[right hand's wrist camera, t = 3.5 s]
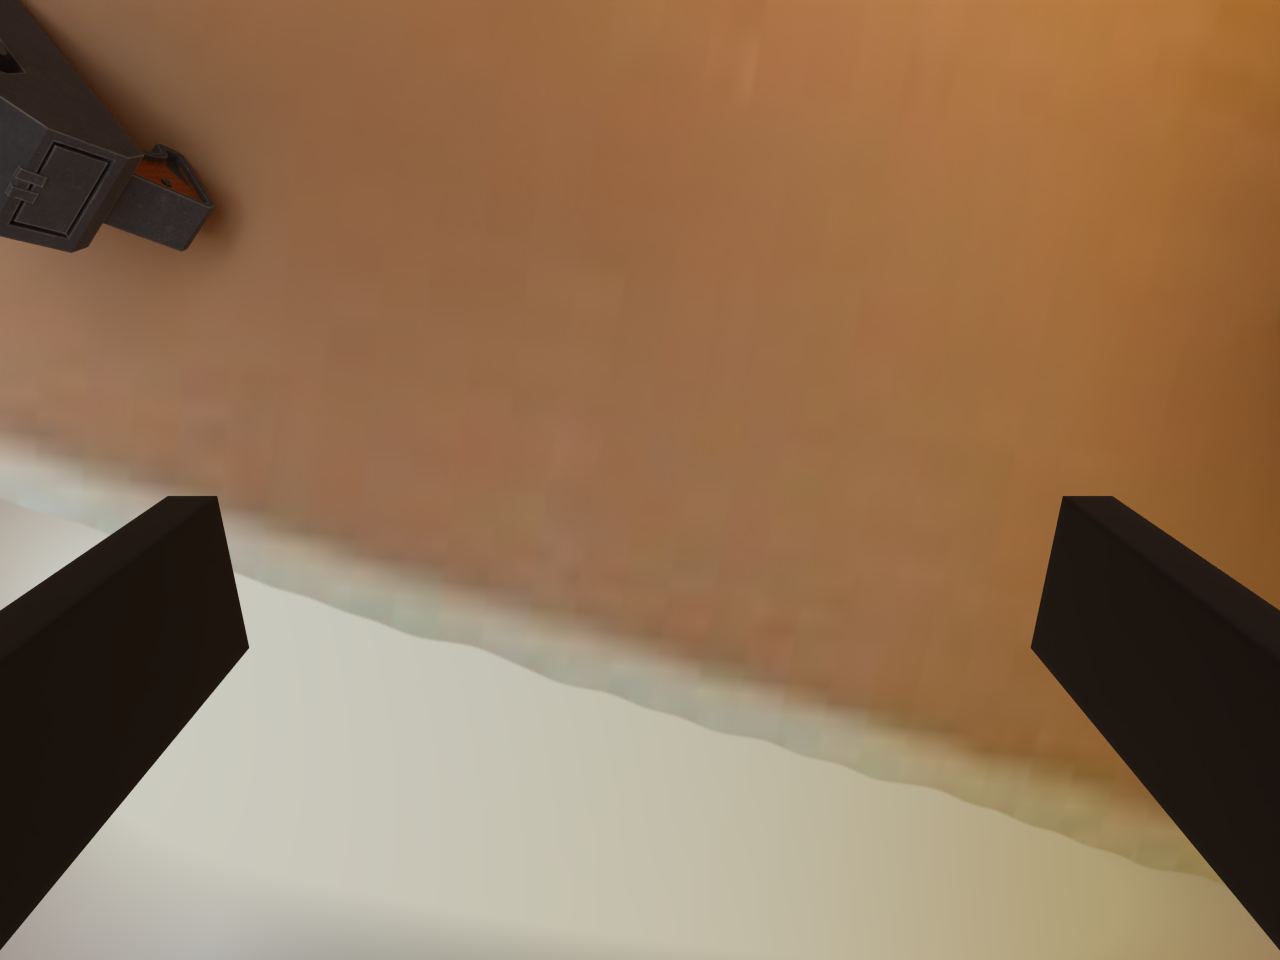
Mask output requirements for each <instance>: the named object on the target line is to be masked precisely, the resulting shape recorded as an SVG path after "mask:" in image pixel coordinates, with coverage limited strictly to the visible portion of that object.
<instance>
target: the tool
mask: <svg viewBox="0 0 1280 960" xmlns="http://www.w3.org/2000/svg"><path fill="white" fill-rule="evenodd" d="M214 207H215V205H214V204H213V202H212V201H211V199H210V197H209V196H208V194H207V193H206V191H205V189H204V188H203V186H202V185H201V183H200V182H199V180H198V178H197V177H196V175H195V174H194V172H193V171H192V169H191V167H190V166H189V164H188V163H187V161H186V160H185V158H184V156H183V155H181V154H180V153H179V152H176V151H174V150H172V149H170V148H168V147H165V146H163V145H161V144H159V143H157V144H156V145H155V147H154V148H153V150H152V152H147V151H143V150H140V149H139V148H138V147H137V146H136V144H135V143H134V142H133V141H132V139H131V138H130V137H129V136H128V135H127V133H126V132H125V131H124V130H123V128H122V127H121V126H120V125H119V124H118V122H117V121H116V120H115V119H114V117H113V116H112V115H111V114H110V113H109V111H108V110H107V109H106V108H105V106H104V105H103V104H102V103H101V102H100V100H99V99H98V98H97V97H96V95H95V94H94V93H93V92H92V90H91V89H90V88H89V87H88V86H87V84H86V83H85V82H84V81H83V79H82V78H81V77H80V76H79V75H78V73H77V72H76V71H75V70H74V68H73V67H72V66H71V65H70V64H69V62H68V61H67V60H66V59H65V57H64V56H63V55H62V54H61V53H60V51H59V50H58V49H57V48H56V46H55V45H54V44H53V43H52V42H51V40H50V39H49V38H48V37H47V35H46V34H45V33H44V32H43V31H42V29H41V28H40V27H39V26H38V24H37V23H36V22H35V21H34V19H33V18H32V17H31V16H30V15H29V13H28V12H27V11H26V10H25V8H24V7H23V6H22V5H21V4H20V2H19V1H18V0H0V236H1V237H6V238H10V239H14V240H19V241H23V242H27V243H31V244H36V245H40V246H44V247H49V248H53V249H57V250H61V251H66V252H70V253H72V252H75V251H78V250H81V249H83V248H86V247H88V246H89V244H90V243H91V241H92V240H93V238H94V236H95V235H96V233H97V231H98V230H99V228H100V227H101V225H102V223H104V224H107V225H110V226H113V227H115V228H118V229H121V230H124V231H126V232H129V233H132V234H135V235H137V236H140V237H143V238H146V239H148V240H151V241H154V242H157V243H159V244H162V245H165V246H168V247H170V248H173V249H176V250H179V251H184V250H186V249H187V248H188V247H189V245H190V244H191V242H192V241H193V239H194V238H195V236H196V235H197V233H198V232H199V230H200V229H201V227H202V226H203V224H204V223H205V221H206V220H207V218H208V217H209V215H210V214H211V212H212V210H213V209H214Z"/></svg>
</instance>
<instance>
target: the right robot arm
mask: <svg viewBox="0 0 1280 960" xmlns="http://www.w3.org/2000/svg"><path fill="white" fill-rule="evenodd" d="M248 649H249V644H248V640H247V635H246V630H245V626H244V621H243V616H242V611H241V607H240V602H239V597H238V593H237V588H236V583H235V578H234V574H233V569H232V564H231V559H230V555H229V550H228V545H227V540H226V536H225V531H224V526H223V522H222V517H221V512H220V507H219V503H218V498H217V496H167V497H166V498H164V499H163V500H161V501H160V502H158V503H157V504H156V505H154V506H153V507H151V508H150V509H148V510H147V511H145V512H144V513H142V514H141V515H139V516H138V517H136V518H135V519H134V520H132V521H131V522H129V523H128V524H126V525H125V526H123V527H122V528H120V529H119V530H117V531H116V532H115V533H113V534H112V535H110V536H109V537H107V538H106V539H104V540H103V541H101V542H100V543H98V544H97V545H96V546H94V547H93V548H91V549H90V550H88V551H87V552H85V553H84V554H82V555H81V556H79V557H78V558H77V559H75V560H74V561H72V562H71V563H69V564H68V565H66V566H65V567H63V568H62V569H60V570H59V571H58V572H56V573H55V574H53V575H52V576H50V577H49V578H47V579H46V580H44V581H43V582H41V583H40V584H38V585H37V586H36V587H34V588H33V589H31V590H30V591H28V592H27V593H25V594H24V595H22V596H21V597H20V598H18V599H17V600H15V601H14V602H12V603H11V604H9V605H8V606H6V607H5V608H3V609H2V610H0V950H1V949H2V947H3V946H4V945H5V944H6V943H7V941H8V940H9V939H10V938H11V937H12V935H13V934H14V933H15V932H16V930H17V929H18V928H19V927H20V926H21V924H22V923H23V922H24V921H25V920H26V918H27V917H28V916H29V915H30V913H31V912H32V911H33V910H34V909H35V907H36V906H37V905H38V904H39V903H40V901H41V900H42V899H43V898H44V896H45V895H46V894H47V893H48V892H49V890H50V889H51V888H52V887H53V885H54V884H55V883H56V882H57V881H58V879H59V878H60V877H61V876H62V875H63V873H64V872H65V871H66V870H67V869H68V867H69V866H70V865H71V864H72V862H73V861H74V860H75V859H76V858H77V856H78V855H79V854H80V853H81V852H82V850H83V849H84V848H85V847H86V845H87V844H88V843H89V842H90V841H91V839H92V838H93V837H94V836H95V835H96V833H97V832H98V831H99V830H100V828H101V827H102V826H103V825H104V823H105V822H106V821H107V820H108V819H109V817H110V816H111V815H112V814H113V813H114V811H115V810H116V809H117V808H118V807H119V805H120V804H121V803H122V802H123V801H124V799H125V798H126V797H127V796H128V794H129V793H130V792H131V791H132V790H133V788H134V787H135V786H136V785H137V783H138V782H139V781H140V780H141V779H142V777H143V776H144V775H145V774H146V773H147V771H148V770H149V769H150V768H151V767H152V765H153V764H154V763H155V762H156V760H157V759H158V758H159V757H160V756H161V754H162V753H163V752H164V751H165V749H166V748H167V747H168V746H169V745H170V743H171V742H172V741H173V740H174V739H175V737H176V736H177V735H178V734H179V733H180V731H181V730H182V729H183V728H184V726H185V725H186V724H187V723H188V722H189V720H190V719H191V718H192V717H193V715H194V714H195V713H196V712H197V711H198V709H199V708H200V707H201V706H202V705H203V703H204V702H205V701H206V700H207V699H208V697H209V696H210V695H211V694H212V692H213V691H214V690H215V689H216V688H217V686H218V685H219V684H220V683H221V681H222V680H223V679H224V678H225V677H226V675H227V674H228V673H229V672H230V671H231V669H232V668H233V667H234V666H235V665H236V663H237V662H238V661H239V660H240V658H241V657H242V656H243V655H244V653H245V652H246V651H247V650H248ZM1031 649H1032V650H1033V651H1034V652H1035V654H1036V655H1037V656H1038V657H1039V658H1040V660H1041V661H1042V662H1043V663H1044V665H1045V666H1046V667H1047V668H1048V669H1049V671H1050V672H1051V673H1052V674H1053V675H1054V677H1055V678H1056V679H1057V680H1058V682H1059V683H1060V684H1061V685H1062V686H1063V688H1064V689H1065V690H1066V691H1067V692H1068V694H1069V695H1070V696H1071V697H1072V699H1073V700H1074V701H1075V702H1076V703H1077V705H1078V706H1079V707H1080V708H1081V709H1082V711H1083V712H1084V713H1085V714H1086V716H1087V717H1088V718H1089V719H1090V720H1091V722H1092V723H1093V724H1094V725H1095V726H1096V728H1097V729H1098V730H1099V731H1100V733H1101V734H1102V735H1103V736H1104V737H1105V739H1106V740H1107V741H1108V742H1109V743H1110V745H1111V746H1112V747H1113V748H1114V750H1115V751H1116V752H1117V753H1118V754H1119V756H1120V757H1121V758H1122V759H1123V760H1124V762H1125V763H1126V764H1127V765H1128V767H1129V768H1130V769H1131V770H1132V771H1133V773H1134V774H1135V775H1136V776H1137V777H1138V779H1139V780H1140V781H1141V782H1142V784H1143V785H1144V786H1145V787H1146V788H1147V790H1148V791H1149V792H1150V793H1151V794H1152V796H1153V797H1154V798H1155V799H1156V801H1157V802H1158V803H1159V804H1160V805H1161V807H1162V808H1163V809H1164V810H1165V811H1166V813H1167V814H1168V815H1169V816H1170V818H1171V819H1172V820H1173V821H1174V822H1175V824H1176V825H1177V826H1178V827H1179V828H1180V830H1181V831H1182V832H1183V833H1184V835H1185V836H1186V837H1187V838H1188V839H1189V841H1190V842H1191V843H1192V844H1193V845H1194V847H1195V848H1196V849H1197V850H1198V852H1199V853H1200V854H1201V855H1202V856H1203V858H1204V859H1205V860H1206V861H1207V862H1208V864H1209V865H1210V866H1211V867H1212V869H1213V870H1214V871H1215V872H1216V873H1217V875H1218V876H1219V877H1220V878H1221V879H1222V881H1223V882H1224V883H1225V884H1226V886H1227V887H1228V888H1229V889H1230V890H1231V892H1232V893H1233V894H1234V895H1235V896H1236V898H1237V899H1238V900H1239V901H1240V902H1241V904H1242V905H1243V906H1244V907H1245V909H1246V910H1247V911H1248V912H1249V913H1250V915H1251V916H1252V917H1253V918H1254V920H1255V921H1256V922H1257V923H1258V924H1259V926H1260V927H1261V928H1262V929H1263V930H1264V932H1265V933H1266V934H1267V935H1268V937H1269V938H1270V939H1271V940H1272V941H1273V943H1274V944H1275V945H1276V946H1277V947H1278V949H1279V950H1280V610H1278V609H1277V608H1275V607H1274V606H1272V605H1271V604H1269V603H1268V602H1266V601H1265V600H1263V599H1262V598H1261V597H1259V596H1258V595H1256V594H1255V593H1253V592H1252V591H1250V590H1249V589H1247V588H1246V587H1244V586H1243V585H1242V584H1240V583H1239V582H1237V581H1236V580H1234V579H1233V578H1231V577H1230V576H1228V575H1227V574H1225V573H1224V572H1222V571H1221V570H1220V569H1218V568H1217V567H1215V566H1214V565H1212V564H1211V563H1209V562H1208V561H1206V560H1205V559H1203V558H1202V557H1201V556H1199V555H1198V554H1196V553H1195V552H1193V551H1192V550H1190V549H1189V548H1187V547H1186V546H1184V545H1183V544H1182V543H1180V542H1179V541H1177V540H1176V539H1174V538H1173V537H1171V536H1170V535H1168V534H1167V533H1165V532H1164V531H1163V530H1161V529H1160V528H1158V527H1157V526H1155V525H1154V524H1152V523H1151V522H1149V521H1148V520H1146V519H1145V518H1143V517H1142V516H1141V515H1139V514H1138V513H1136V512H1135V511H1133V510H1132V509H1130V508H1129V507H1127V506H1126V505H1124V504H1123V503H1122V502H1120V501H1119V500H1117V499H1116V498H1114V497H1113V496H1063V498H1062V503H1061V507H1060V512H1059V517H1058V522H1057V526H1056V531H1055V536H1054V540H1053V545H1052V550H1051V555H1050V559H1049V564H1048V569H1047V574H1046V578H1045V583H1044V588H1043V592H1042V597H1041V602H1040V607H1039V611H1038V616H1037V621H1036V625H1035V630H1034V635H1033V640H1032V644H1031Z"/></svg>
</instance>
